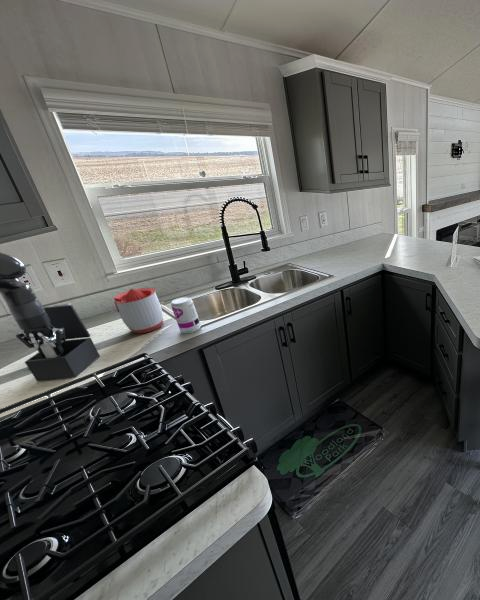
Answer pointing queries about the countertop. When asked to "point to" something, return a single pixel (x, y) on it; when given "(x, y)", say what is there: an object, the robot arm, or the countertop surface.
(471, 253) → the countertop surface
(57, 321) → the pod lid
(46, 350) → the cylinder
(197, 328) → the supplement can
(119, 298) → the citrus juicer
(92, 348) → the black tray box
